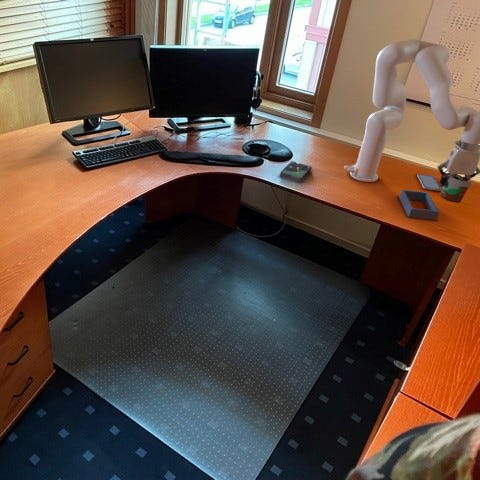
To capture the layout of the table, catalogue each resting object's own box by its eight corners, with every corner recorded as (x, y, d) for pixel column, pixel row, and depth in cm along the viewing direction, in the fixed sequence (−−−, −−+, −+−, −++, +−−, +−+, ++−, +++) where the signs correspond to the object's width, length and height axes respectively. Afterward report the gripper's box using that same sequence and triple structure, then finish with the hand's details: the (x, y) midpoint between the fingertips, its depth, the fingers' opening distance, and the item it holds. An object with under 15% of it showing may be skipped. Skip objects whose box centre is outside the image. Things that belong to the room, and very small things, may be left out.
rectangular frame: (408, 217, 193) (411, 208, 191) (399, 197, 206) (402, 189, 204) (435, 220, 192) (439, 211, 189) (424, 200, 205) (427, 192, 203)
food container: (430, 190, 199) (439, 168, 193) (444, 189, 199) (453, 168, 193) (447, 205, 189) (457, 183, 183) (462, 204, 189) (472, 182, 183)
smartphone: (433, 175, 224) (441, 189, 211) (432, 177, 224) (440, 191, 212) (416, 173, 225) (424, 187, 212) (416, 175, 225) (423, 189, 213)
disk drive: (290, 166, 229) (279, 177, 219) (291, 160, 228) (280, 171, 217) (310, 171, 225) (300, 183, 214) (312, 166, 223) (302, 177, 213)
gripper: (448, 146, 179) (431, 188, 189) (497, 151, 177) (477, 193, 187) (442, 139, 185) (426, 179, 195) (489, 143, 183) (470, 184, 193)
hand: (451, 186), depth 191 cm, fingers closed on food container, 6 cm apart
